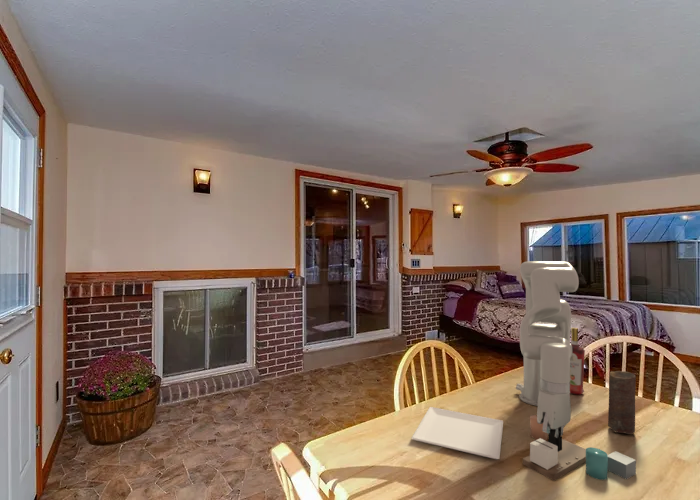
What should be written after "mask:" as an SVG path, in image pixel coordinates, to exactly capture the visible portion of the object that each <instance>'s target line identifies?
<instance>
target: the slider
mask: <svg viewBox="0 0 700 500" xmlns="http://www.w3.org/2000/svg"><path fill="white" fill-rule="evenodd" d="M529 455H530V461H532V462H534V463H536V464H538V465H540V466H541V467H543V468H545V469H547V470H548V469H550V468H551V467H553V466H555V465H557V464H558V446H556V445H554V444H552V443H550V442H548V440H543V439H541V438H540V439H538V440H537V439H535V440H533V441H531V442H530V443H529Z"/></svg>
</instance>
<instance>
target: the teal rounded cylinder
mask: <svg viewBox="0 0 700 500" xmlns="http://www.w3.org/2000/svg"><path fill="white" fill-rule="evenodd" d="M585 449H586V462H585V473H586V474H587V475H588V476H589V477H591V478H592V479H595V480H600V481H606V480H608V477H609V475H608V474H609V473H608V455H609V454H608V453H607V452H606V451H604V450H603V449H600V448H598V447H586V448H585Z"/></svg>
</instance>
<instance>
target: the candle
mask: <svg viewBox="0 0 700 500" xmlns="http://www.w3.org/2000/svg"><path fill="white" fill-rule="evenodd" d="M608 376H609V378H608V379H609V380H608V381H609V382H608V413H607V426H608V427H609V428H610V429H611V430H612V431H613V432H615V433H620V434H626V435H627V434H629V435H631V434H635V432H636V380H637V379H636V378H637V377H636V374H634V373H633V372H632V373H631V372H629V371H624V370H623V371H622V370H617V371H610V372H609V375H608Z"/></svg>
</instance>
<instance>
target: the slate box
mask: <svg viewBox="0 0 700 500" xmlns="http://www.w3.org/2000/svg"><path fill="white" fill-rule="evenodd" d="M607 455H608V471H609V472H610V473H612V474H614V475H616V476H618V477H621V478H623V479H625V480H628V479H630V478H631V477H633V476H636V475H637V459H634V458H633V457H630V456H627V455H625V454H624V453H621V452H619V451H616V450H615V451H613V452H611V453H609V454H607Z"/></svg>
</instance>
